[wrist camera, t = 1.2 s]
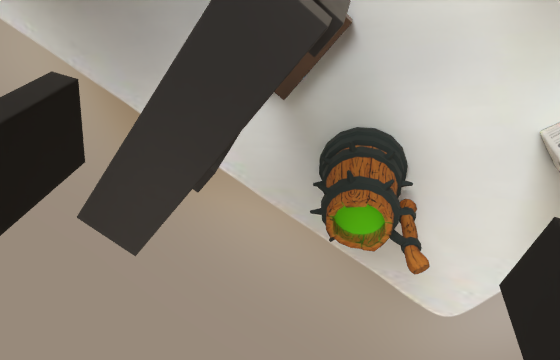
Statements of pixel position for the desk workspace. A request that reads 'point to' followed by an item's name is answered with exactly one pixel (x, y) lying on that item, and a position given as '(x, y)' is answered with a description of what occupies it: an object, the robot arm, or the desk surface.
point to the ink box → (553, 143)
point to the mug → (368, 194)
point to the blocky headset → (204, 108)
